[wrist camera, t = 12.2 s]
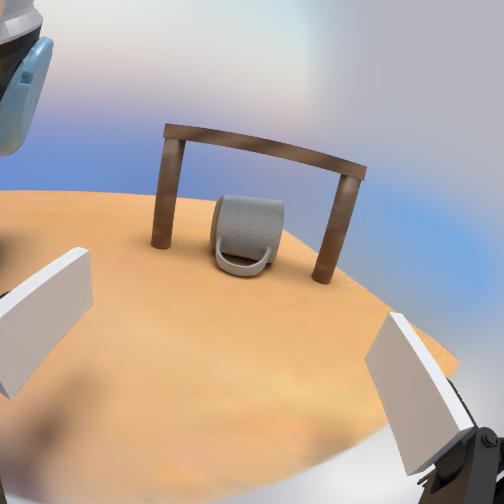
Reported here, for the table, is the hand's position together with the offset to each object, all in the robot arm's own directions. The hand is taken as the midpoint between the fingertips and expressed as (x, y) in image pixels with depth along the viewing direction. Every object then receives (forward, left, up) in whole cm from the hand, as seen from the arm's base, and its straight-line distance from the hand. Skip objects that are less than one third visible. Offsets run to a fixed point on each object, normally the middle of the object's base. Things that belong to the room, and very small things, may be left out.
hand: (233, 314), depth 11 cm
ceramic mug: (0, +22, -7) cm, 23 cm away
